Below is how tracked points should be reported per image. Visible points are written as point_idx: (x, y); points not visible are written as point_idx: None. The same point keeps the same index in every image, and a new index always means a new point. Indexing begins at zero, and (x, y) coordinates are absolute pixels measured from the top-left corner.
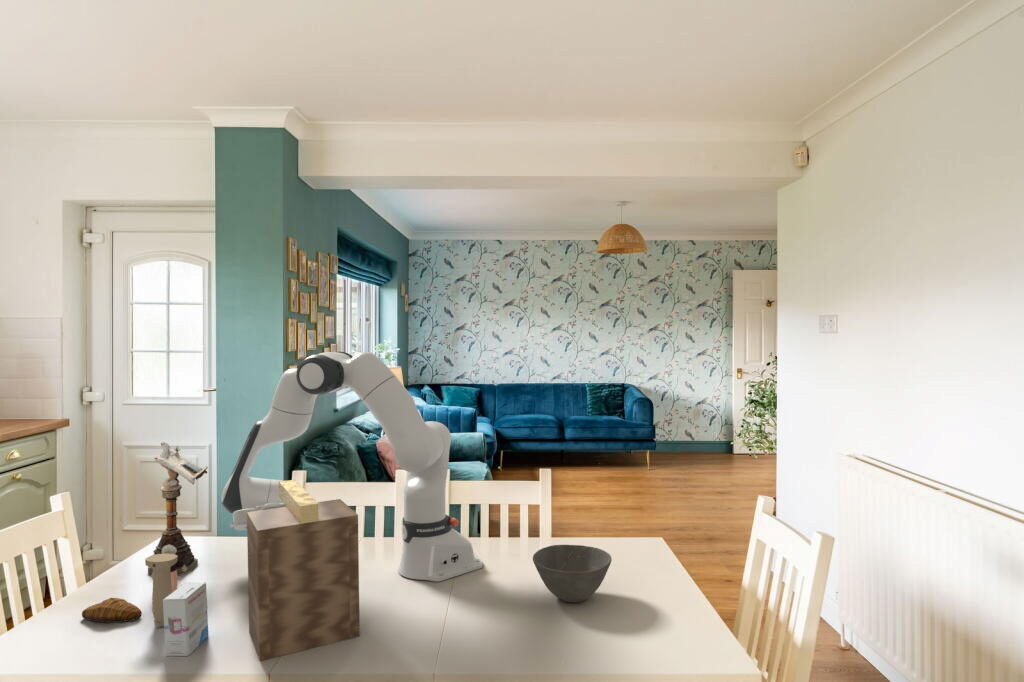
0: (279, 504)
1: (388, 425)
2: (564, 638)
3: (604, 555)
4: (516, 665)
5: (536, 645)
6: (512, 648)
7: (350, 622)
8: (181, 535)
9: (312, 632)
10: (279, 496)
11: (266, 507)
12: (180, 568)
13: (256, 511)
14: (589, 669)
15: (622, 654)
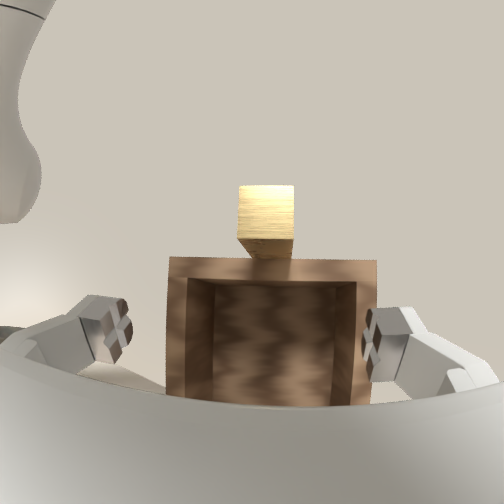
0: (154, 394)
1: (11, 104)
2: (89, 374)
3: (1, 329)
4: (142, 381)
5: (109, 379)
6: (122, 384)
7: None
8: None
9: None
10: (293, 237)
11: (339, 410)
12: None
13: (356, 260)
14: (121, 368)
15: (94, 363)
